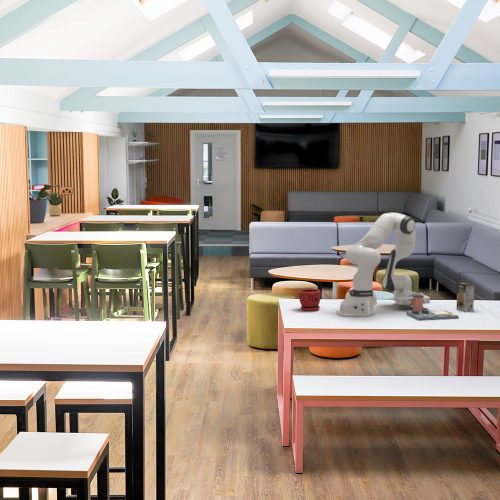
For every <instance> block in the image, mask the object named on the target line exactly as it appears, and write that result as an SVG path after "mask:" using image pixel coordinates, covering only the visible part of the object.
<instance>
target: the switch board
mask: <svg viewBox="0 0 500 500" xmlns="http://www.w3.org/2000/svg"><path fill="white" fill-rule="evenodd" d="M406 316H408V317H410V318H413V319H414V320H416V321H419V322H420V321H435V320H437V321H438V320H456V319H460V317H459V315H458V314H457V313H456V314H455V313H452V312H450V311H448V310H430V311H429V310H428V309H423V310H422V312H419V311H417V310H413V309H412V310H411V311H407V312H406Z"/></svg>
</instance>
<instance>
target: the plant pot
mask: <svg viewBox="0 0 500 500" xmlns="http://www.w3.org/2000/svg"><path fill="white" fill-rule="evenodd" d="M321 297H322V296H321V290H320V289H317V288H312V289H311V288H307V289H300V290H298V298H299V302H300V309H301V310H302V311H305V312H316V311H319V309H320V308H321V306H320V302H321Z"/></svg>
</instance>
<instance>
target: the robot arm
mask: <svg viewBox="0 0 500 500" xmlns="http://www.w3.org/2000/svg"><path fill="white" fill-rule="evenodd" d="M392 232H396V233H397V237H396V244H395V246H394V247H393V249H392V250H391V251H390V253H389V256H388V260H387V265H386V269H385V273H384V276H383V279H382V287H383V289H385V291H386V292H389V293H390V292H393V297H394V298H393V301H394V302H395V303H396V304H397V305H401V306H402V305H404V306H407V307H413V297H412V294H421V295H424V298H423V305H425V304H430V303H431V297H430V296H428V295H425V294H424V293H422V292H415V291H414V287H415V282H414V279H413V277H412V276H411V275H410V274H394V273H395V269H396V265H397V263H398V262H399V261H400V260H402V259H403V258H406V257H409V256H410V255H412V254H413V253H414V251H415V248H416V237H417V236H416V235H417V234H416V222H415V219H414V218H413V217H411V216H410V215H406V214H403V213H400V212H394V211H387V212H384V213H383V214H381V215H380V216H379V217H378V218H377V219H376V220H375V222H374V223H373V224H372V226H371V227H370V229H369V230H368V231H367V233H366V234H365V235H364V236H363V237H362V238H361V239H359V241H357V242H356V243H355V244H354V245H351V246H350V247H348V248H347V249H346V251H345V260H346V261H347V262H349V263H351V264H352V265H357V266H358V267H357V271H356V272H355V273H354V275H353V277H352V287H353V289H352V290H349V289H350V288H348V289H347V290H346V291H347V292H348V293H350V296H349V297H348V298H346V299H345V298H344V300H343V301H341V302H340V304H339V305H340V306H339V310H336V311H335V313H336V315H337V316H341V317H369V316H371V315H375V314H376V313H375V308H374V305H373V291H374V290H373V277H374V273H375V270H376V267H377V266H379V264H380V263H381V261H382V255H381V253H380V252H379V250H377V249H379V248H381V247H382V246H383V245H384V243H385V242H386V241H387V238H388V237H389V236H390V234H391V233H392Z"/></svg>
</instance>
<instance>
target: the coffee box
mask: <svg viewBox="0 0 500 500" xmlns="http://www.w3.org/2000/svg"><path fill="white" fill-rule="evenodd" d="M474 302H475V284H474V283H470V282H466V281H465V282H463V281H462V282H459V281H458V282H457V283H456V310H458V311H462V312H464V313H465V312H474Z"/></svg>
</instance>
